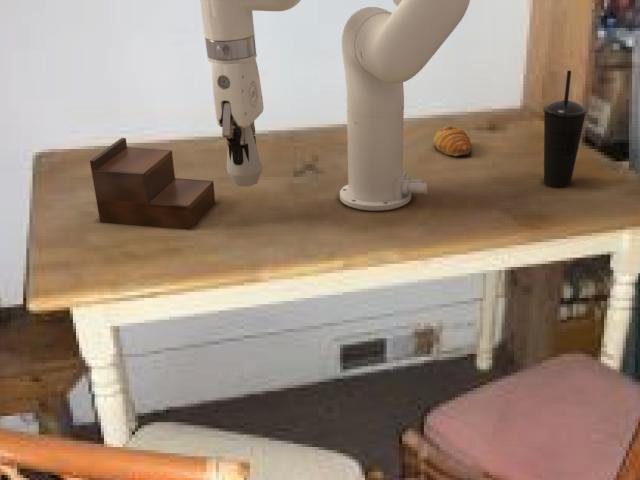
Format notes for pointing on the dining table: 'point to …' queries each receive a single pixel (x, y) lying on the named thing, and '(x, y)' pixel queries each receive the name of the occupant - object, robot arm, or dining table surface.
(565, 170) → the drinking cup
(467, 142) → the pastry
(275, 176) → the dining table surface
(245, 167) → the salt shaker
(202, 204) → the spice rack
